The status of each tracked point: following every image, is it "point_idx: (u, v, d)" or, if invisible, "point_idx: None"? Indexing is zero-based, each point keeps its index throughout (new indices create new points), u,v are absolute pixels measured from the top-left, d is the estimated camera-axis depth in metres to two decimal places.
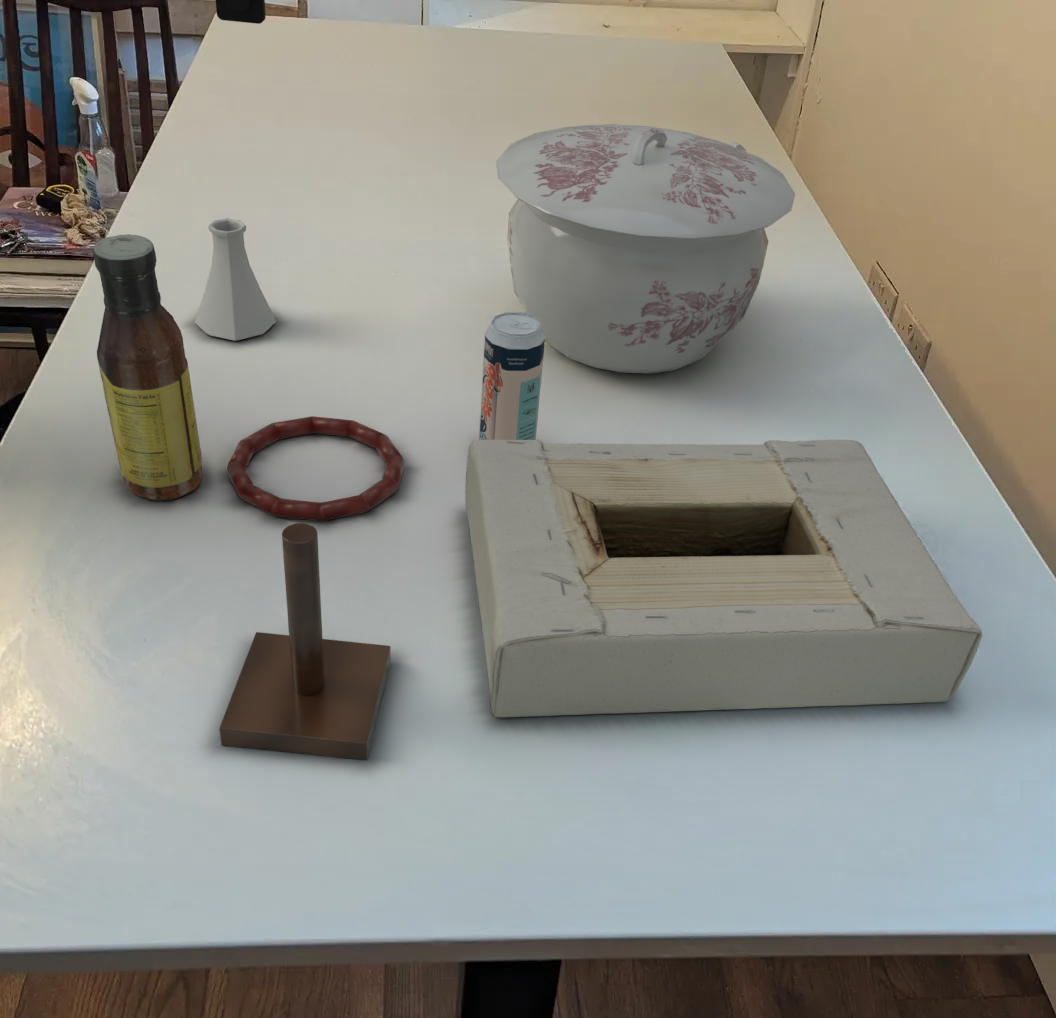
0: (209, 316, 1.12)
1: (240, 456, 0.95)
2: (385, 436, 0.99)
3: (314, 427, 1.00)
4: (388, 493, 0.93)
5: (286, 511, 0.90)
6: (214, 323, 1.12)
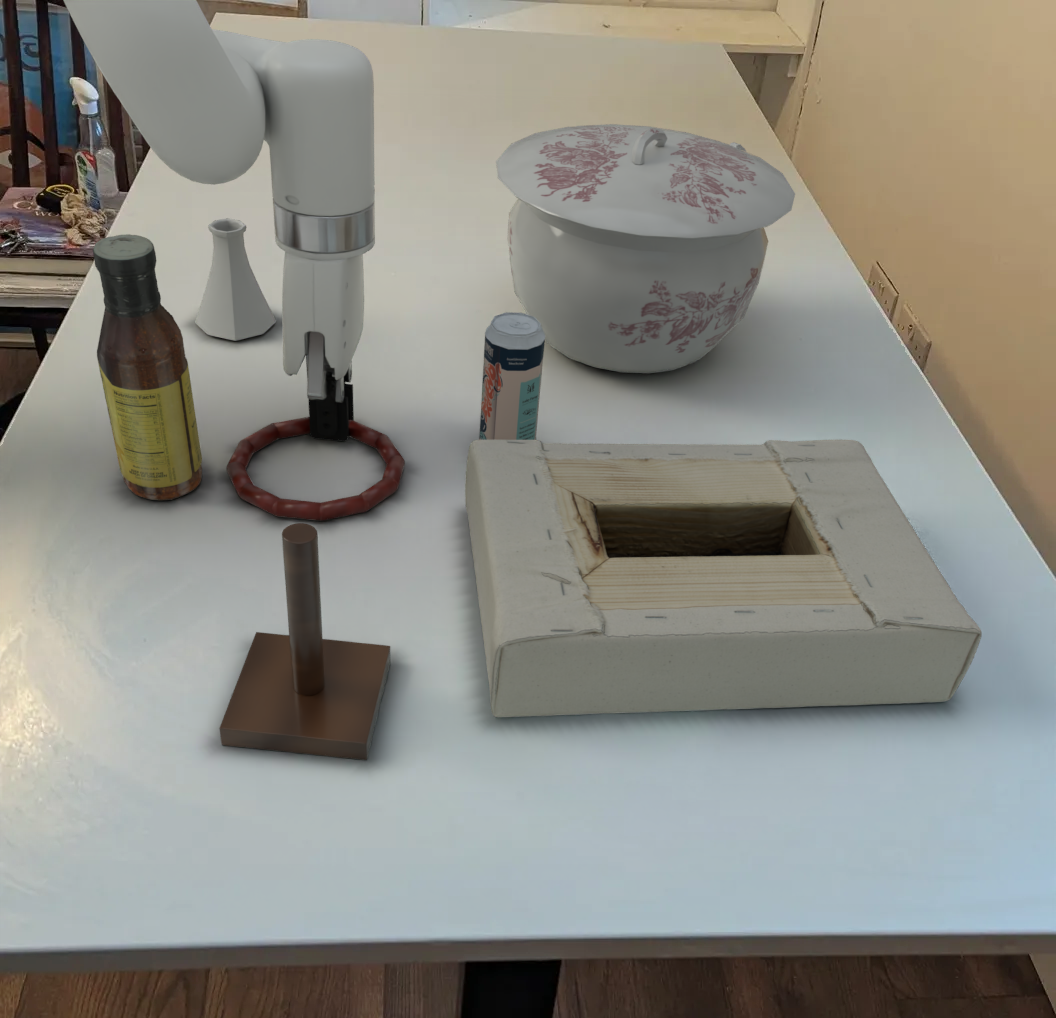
0: (209, 316, 1.12)
1: (240, 455, 0.95)
2: (385, 436, 0.99)
3: None
4: (388, 493, 0.93)
5: (286, 511, 0.90)
6: (214, 323, 1.12)
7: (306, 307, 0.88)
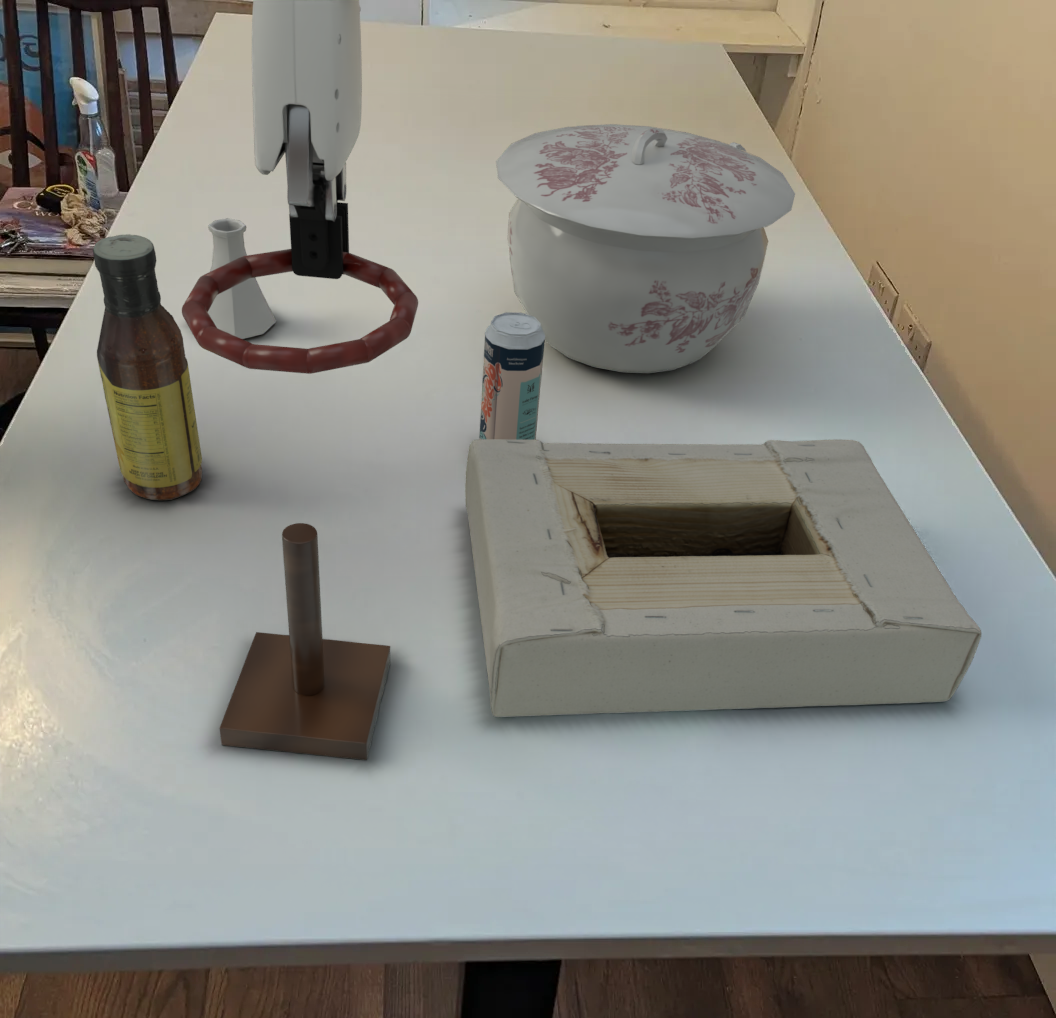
0: None
1: (199, 294, 0.71)
2: (391, 270, 0.75)
3: None
4: (398, 338, 0.70)
5: (261, 360, 0.67)
6: (214, 323, 1.12)
7: (284, 67, 0.64)
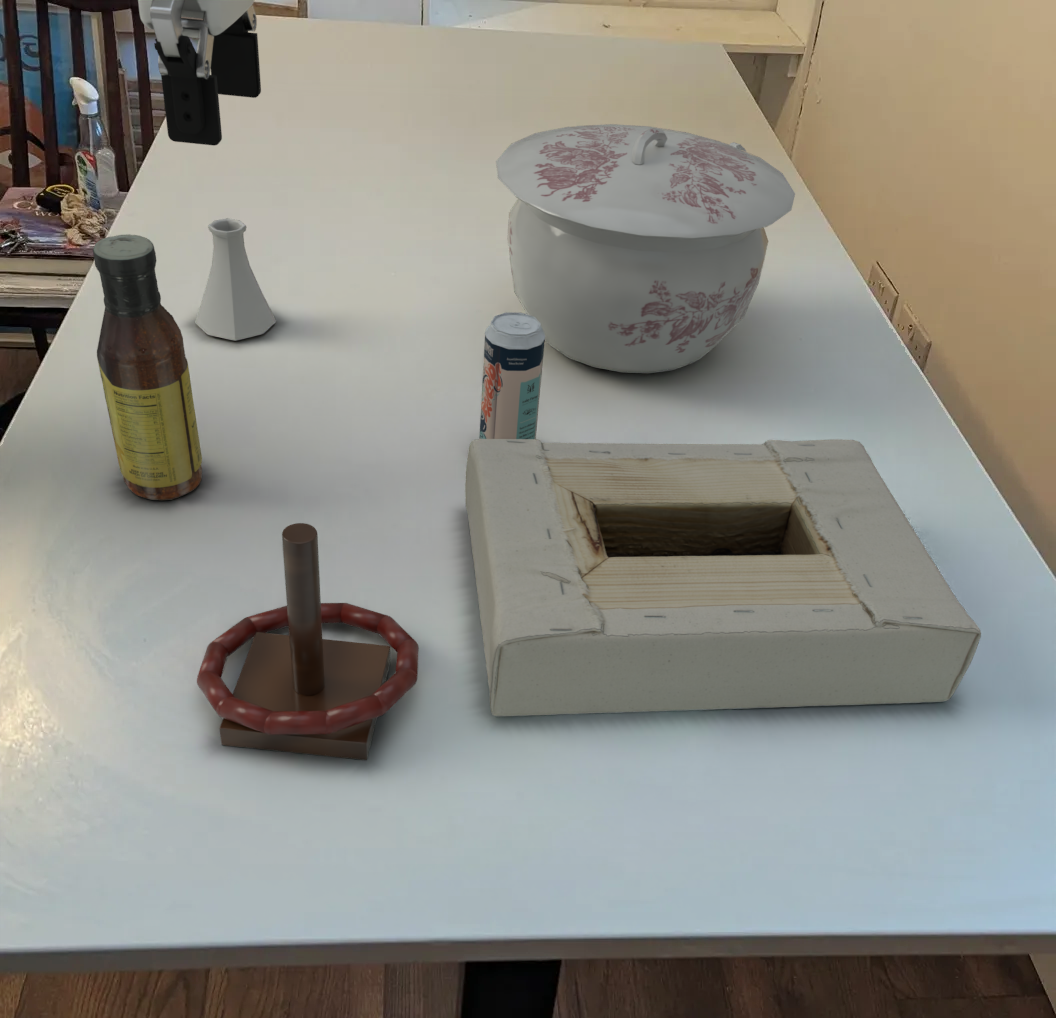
0: (208, 316, 1.12)
1: (212, 662, 0.75)
2: (389, 617, 0.80)
3: None
4: (407, 688, 0.74)
5: (283, 727, 0.70)
6: (214, 323, 1.12)
7: None
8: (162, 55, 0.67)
